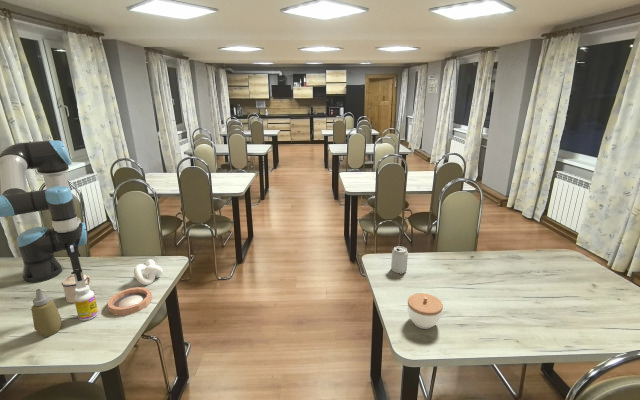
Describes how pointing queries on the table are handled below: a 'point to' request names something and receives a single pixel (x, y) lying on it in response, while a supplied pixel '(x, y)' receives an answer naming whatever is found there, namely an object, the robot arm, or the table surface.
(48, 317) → the squeeze bottle
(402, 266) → the can
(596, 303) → the table surface
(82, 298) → the supplement bottle
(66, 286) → the teacup with lid
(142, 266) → the white decorative knot
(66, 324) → the table surface
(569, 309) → the table surface
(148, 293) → the saucer tray
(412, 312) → the lidded bowl
